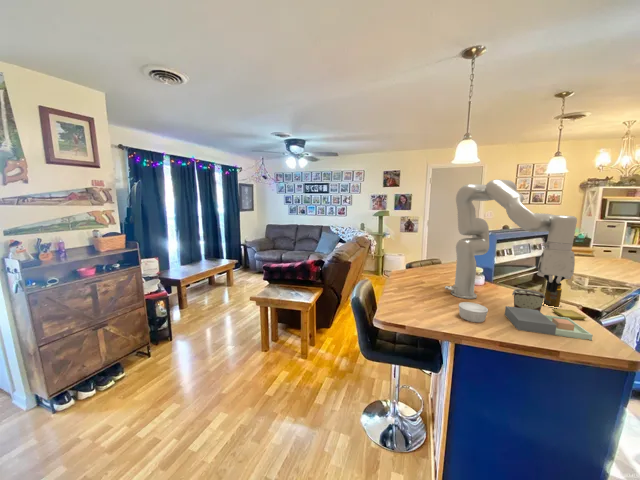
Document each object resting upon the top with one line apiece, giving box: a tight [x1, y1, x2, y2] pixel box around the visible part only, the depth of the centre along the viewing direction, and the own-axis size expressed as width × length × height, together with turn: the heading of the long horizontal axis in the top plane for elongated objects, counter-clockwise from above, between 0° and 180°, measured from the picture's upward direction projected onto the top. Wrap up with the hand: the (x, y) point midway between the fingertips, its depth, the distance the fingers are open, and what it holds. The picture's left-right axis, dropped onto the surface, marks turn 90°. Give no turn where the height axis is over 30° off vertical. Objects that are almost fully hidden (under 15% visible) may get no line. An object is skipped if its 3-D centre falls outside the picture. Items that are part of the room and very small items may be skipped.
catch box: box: [544, 314, 593, 341], centre depth 107 cm, size 11×16×2 cm
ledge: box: [504, 305, 556, 336], centre depth 110 cm, size 12×16×4 cm
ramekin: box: [458, 301, 489, 323], centre depth 115 cm, size 11×11×5 cm
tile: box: [552, 318, 575, 331], centre depth 107 cm, size 5×5×2 cm
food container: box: [511, 288, 545, 312], centre depth 124 cm, size 12×6×10 cm, turn 71°
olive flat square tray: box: [551, 308, 587, 320], centre depth 120 cm, size 9×9×2 cm
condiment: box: [543, 282, 563, 307], centre depth 132 cm, size 7×8×12 cm
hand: (550, 291), depth 107 cm, fingers closed
